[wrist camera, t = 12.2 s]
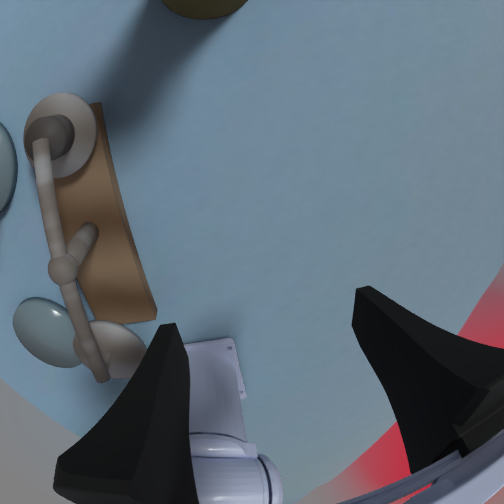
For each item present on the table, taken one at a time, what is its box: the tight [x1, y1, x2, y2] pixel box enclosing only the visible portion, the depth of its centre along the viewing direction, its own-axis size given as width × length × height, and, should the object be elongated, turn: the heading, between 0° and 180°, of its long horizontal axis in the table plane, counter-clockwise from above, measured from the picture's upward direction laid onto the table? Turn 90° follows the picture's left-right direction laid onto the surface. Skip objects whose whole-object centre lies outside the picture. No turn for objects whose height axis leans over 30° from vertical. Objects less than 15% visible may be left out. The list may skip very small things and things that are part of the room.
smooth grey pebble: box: [13, 297, 82, 368], centre depth 22 cm, size 8×8×1 cm
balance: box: [23, 93, 157, 383], centre depth 15 cm, size 19×5×8 cm, turn 7°
